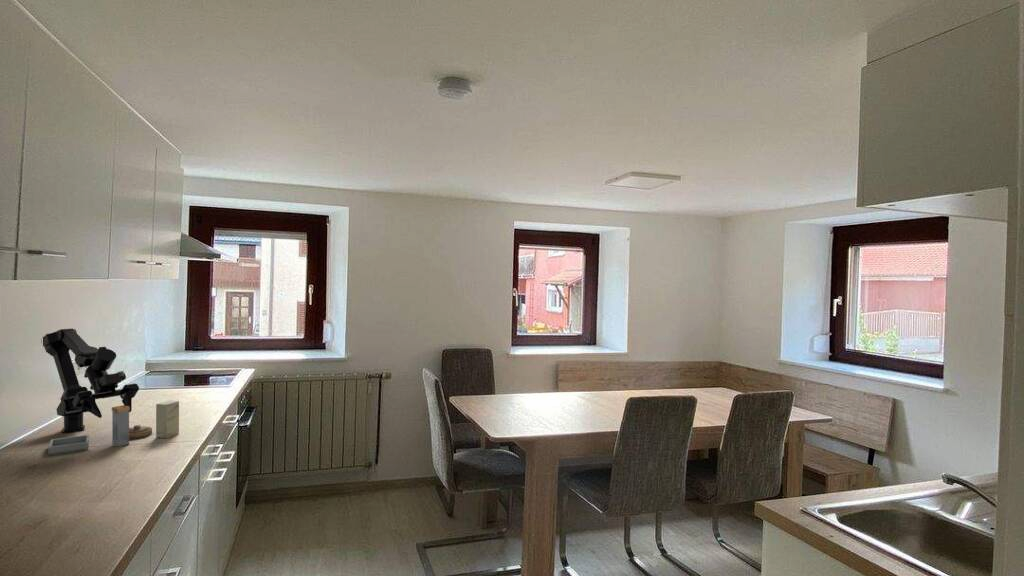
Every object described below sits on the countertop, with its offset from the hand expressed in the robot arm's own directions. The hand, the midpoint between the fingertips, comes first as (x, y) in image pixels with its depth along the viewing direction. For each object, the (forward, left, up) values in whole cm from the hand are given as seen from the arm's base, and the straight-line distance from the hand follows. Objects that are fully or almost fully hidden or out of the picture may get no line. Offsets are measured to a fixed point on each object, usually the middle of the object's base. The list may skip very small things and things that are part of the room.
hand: (115, 414), depth 192 cm
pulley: (-7, +6, -10) cm, 14 cm away
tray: (-2, -13, -10) cm, 16 cm away
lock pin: (+3, +1, -10) cm, 11 cm away
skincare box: (-1, +15, -10) cm, 19 cm away
